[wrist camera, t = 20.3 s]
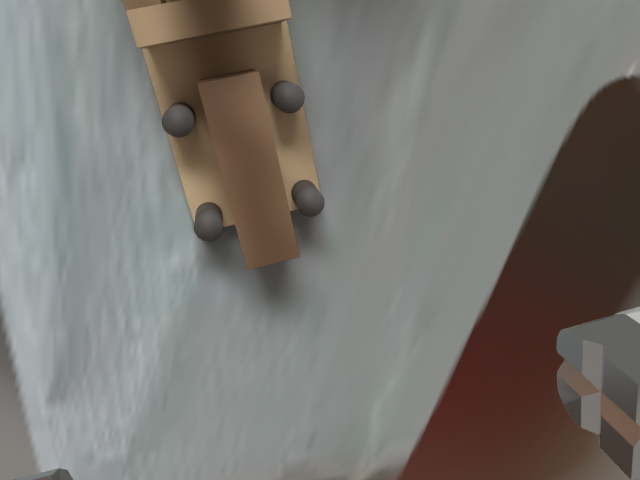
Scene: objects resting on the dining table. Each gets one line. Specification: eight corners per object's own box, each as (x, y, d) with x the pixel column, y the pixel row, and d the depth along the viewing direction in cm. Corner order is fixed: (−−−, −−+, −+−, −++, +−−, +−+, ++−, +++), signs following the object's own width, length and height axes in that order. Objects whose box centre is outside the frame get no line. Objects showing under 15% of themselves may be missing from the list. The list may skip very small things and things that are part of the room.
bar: (252, 68, 28) (258, 71, 24) (288, 230, 32) (300, 257, 28) (199, 79, 28) (197, 84, 24) (242, 242, 32) (247, 270, 28)
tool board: (254, -130, 26) (263, -171, 21) (318, 198, 33) (336, 222, 28) (98, -105, 25) (71, -142, 20) (197, 227, 32) (195, 257, 27)
